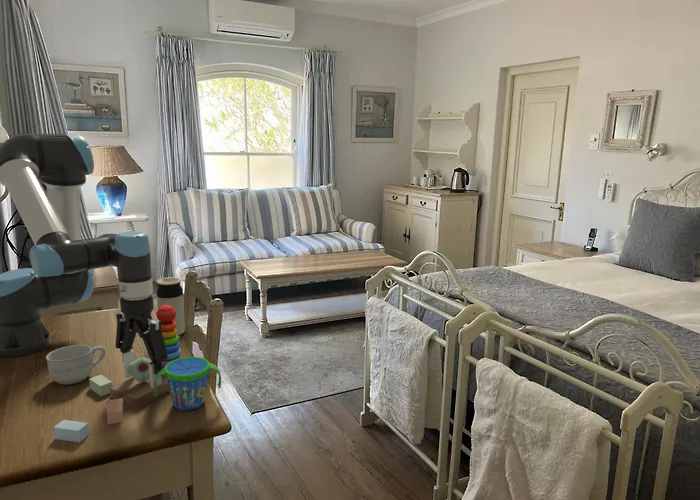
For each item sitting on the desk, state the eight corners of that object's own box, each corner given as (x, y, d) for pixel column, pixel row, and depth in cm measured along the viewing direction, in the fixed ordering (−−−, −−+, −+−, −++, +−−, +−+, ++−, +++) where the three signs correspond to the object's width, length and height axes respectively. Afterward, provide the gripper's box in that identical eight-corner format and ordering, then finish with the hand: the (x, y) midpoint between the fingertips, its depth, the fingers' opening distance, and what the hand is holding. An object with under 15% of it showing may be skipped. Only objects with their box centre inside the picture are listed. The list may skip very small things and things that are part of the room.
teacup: (48, 392, 129) (44, 363, 127) (50, 374, 138) (46, 347, 136) (108, 381, 135) (106, 353, 133) (106, 364, 145) (104, 338, 143)
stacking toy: (173, 377, 138) (169, 311, 134) (147, 374, 140) (142, 309, 135) (188, 364, 146) (184, 302, 141) (163, 361, 147) (158, 300, 143)
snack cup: (222, 390, 132) (221, 353, 129) (221, 411, 122) (220, 372, 119) (158, 396, 128) (155, 358, 126) (152, 418, 118) (149, 378, 116)
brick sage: (90, 389, 131) (89, 378, 131) (101, 385, 134) (100, 374, 133) (101, 397, 128) (100, 386, 127) (113, 392, 130) (112, 381, 129)
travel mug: (175, 326, 174) (172, 275, 170) (190, 331, 169) (187, 279, 165) (154, 333, 167) (150, 280, 163) (169, 339, 163) (165, 285, 159)
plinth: (110, 397, 127) (109, 387, 127) (150, 377, 137) (149, 369, 137) (137, 408, 122) (136, 398, 122) (176, 387, 133) (175, 378, 132)
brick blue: (54, 439, 110) (53, 427, 109) (65, 431, 113) (63, 419, 112) (79, 443, 109) (78, 430, 108) (89, 435, 112) (87, 423, 111)
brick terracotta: (110, 411, 121) (109, 400, 120) (123, 409, 122) (122, 398, 122) (107, 425, 116) (106, 413, 115) (122, 422, 117) (121, 410, 116)
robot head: (157, 376, 133) (155, 351, 132) (161, 381, 130) (159, 356, 129) (124, 383, 129) (122, 358, 128) (127, 389, 126) (125, 363, 124)
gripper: (94, 292, 126) (102, 375, 131) (154, 308, 116) (160, 398, 121) (120, 284, 133) (127, 364, 138) (180, 299, 122) (185, 385, 127)
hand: (143, 380), depth 129 cm, fingers open, 9 cm apart
